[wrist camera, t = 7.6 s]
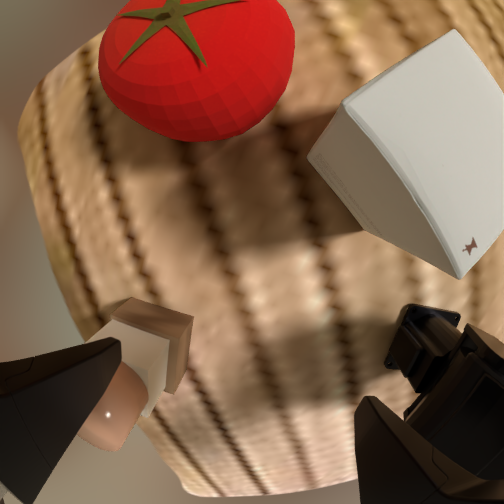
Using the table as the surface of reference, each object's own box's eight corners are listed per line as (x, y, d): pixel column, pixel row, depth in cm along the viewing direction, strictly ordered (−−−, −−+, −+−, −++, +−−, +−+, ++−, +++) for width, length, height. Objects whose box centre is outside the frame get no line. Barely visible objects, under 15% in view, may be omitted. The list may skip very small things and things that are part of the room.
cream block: (169, 340, 19) (148, 370, 15) (165, 386, 20) (147, 418, 16) (112, 319, 19) (84, 342, 15) (114, 366, 20) (91, 392, 17)
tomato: (253, 173, 20) (227, 156, 9) (122, 123, 20) (33, 95, 9) (313, 52, 17) (333, -33, 7) (181, 16, 17) (132, -52, 7)
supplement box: (427, 175, 18) (545, 175, 6) (363, 232, 20) (459, 289, 8) (371, 100, 17) (456, 23, 5) (301, 155, 19) (336, 102, 7)
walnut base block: (194, 315, 23) (179, 338, 19) (187, 368, 24) (173, 394, 20) (132, 296, 23) (109, 314, 19) (131, 349, 24) (112, 370, 21)
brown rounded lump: (148, 369, 15) (115, 416, 11) (149, 418, 16) (126, 461, 12) (84, 344, 15) (45, 378, 11) (93, 393, 17) (63, 429, 12)
